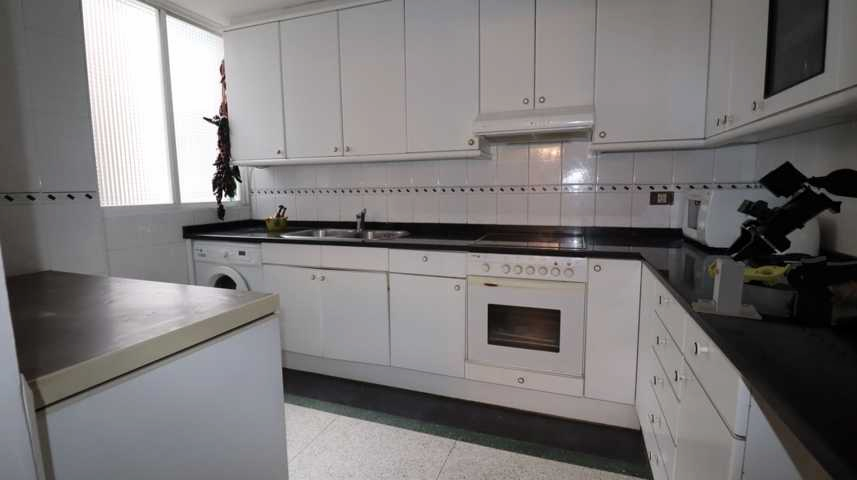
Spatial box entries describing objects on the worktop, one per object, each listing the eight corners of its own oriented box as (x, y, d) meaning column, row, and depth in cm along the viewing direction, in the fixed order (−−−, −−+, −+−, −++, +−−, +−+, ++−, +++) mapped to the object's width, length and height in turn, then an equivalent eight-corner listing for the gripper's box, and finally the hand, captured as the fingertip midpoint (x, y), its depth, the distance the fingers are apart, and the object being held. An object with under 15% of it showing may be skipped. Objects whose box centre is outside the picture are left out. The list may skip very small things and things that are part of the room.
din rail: (754, 311, 99) (755, 303, 99) (761, 319, 93) (762, 311, 93) (691, 303, 105) (692, 296, 105) (694, 311, 99) (695, 303, 99)
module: (734, 307, 101) (739, 259, 99) (739, 314, 95) (745, 264, 93) (708, 304, 103) (713, 258, 102) (712, 311, 98) (717, 262, 96)
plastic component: (705, 270, 134) (720, 255, 138) (710, 288, 136) (725, 273, 140) (778, 278, 117) (793, 260, 121) (783, 299, 119) (797, 281, 123)
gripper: (756, 187, 101) (699, 228, 107) (778, 188, 84) (709, 237, 91) (793, 219, 98) (732, 260, 105) (823, 227, 82) (749, 274, 89)
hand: (730, 257), depth 97 cm, fingers open, 9 cm apart
